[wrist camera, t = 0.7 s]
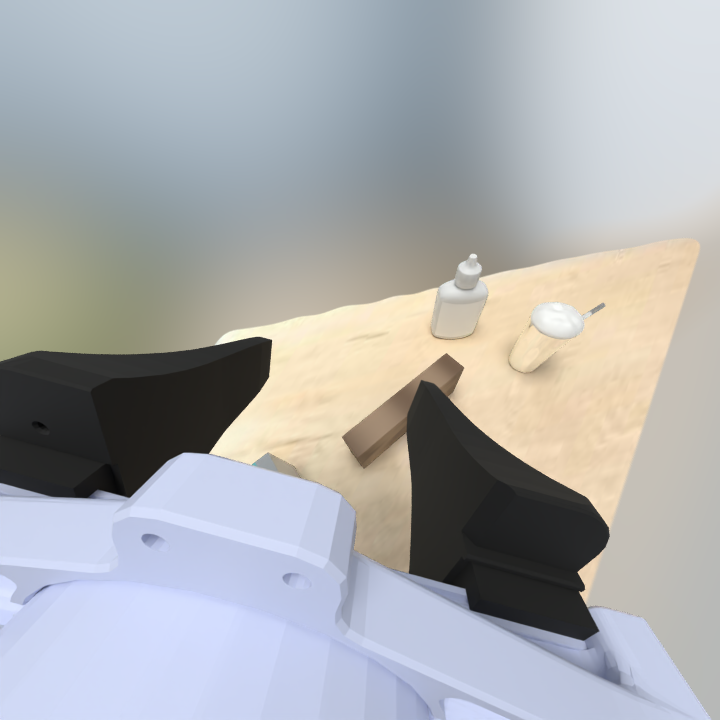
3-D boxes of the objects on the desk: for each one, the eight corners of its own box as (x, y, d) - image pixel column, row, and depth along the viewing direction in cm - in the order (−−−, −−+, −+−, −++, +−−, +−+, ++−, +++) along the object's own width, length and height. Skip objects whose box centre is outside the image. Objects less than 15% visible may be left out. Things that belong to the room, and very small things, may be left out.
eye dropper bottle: (466, 348, 34) (496, 276, 24) (426, 334, 36) (438, 262, 26) (475, 325, 36) (508, 249, 26) (437, 313, 38) (453, 238, 28)
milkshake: (555, 377, 30) (617, 323, 22) (508, 378, 31) (550, 325, 23) (542, 346, 33) (593, 287, 24) (498, 347, 33) (534, 290, 25)
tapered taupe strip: (364, 469, 28) (357, 457, 22) (351, 451, 29) (341, 436, 24) (452, 392, 31) (464, 367, 26) (438, 379, 32) (446, 353, 27)
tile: (333, 534, 25) (315, 539, 19) (320, 547, 24) (296, 556, 18) (293, 466, 28) (267, 452, 22) (281, 476, 28) (251, 464, 22)
